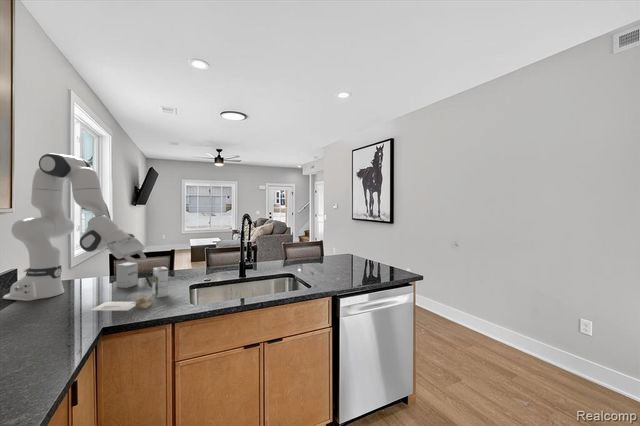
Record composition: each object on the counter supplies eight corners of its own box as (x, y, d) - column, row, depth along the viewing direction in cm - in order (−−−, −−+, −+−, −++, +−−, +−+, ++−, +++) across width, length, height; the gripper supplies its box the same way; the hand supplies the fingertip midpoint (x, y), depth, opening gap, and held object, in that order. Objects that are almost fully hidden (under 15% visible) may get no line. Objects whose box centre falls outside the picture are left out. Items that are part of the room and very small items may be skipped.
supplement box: (127, 288, 157) (127, 265, 156) (115, 287, 158) (115, 264, 158) (138, 284, 164) (138, 262, 164) (127, 283, 166) (127, 261, 165)
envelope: (89, 311, 124) (89, 310, 124) (106, 302, 135) (106, 301, 135) (127, 311, 125) (127, 310, 125) (141, 302, 136) (141, 301, 136)
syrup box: (151, 295, 146) (152, 267, 145) (164, 293, 150) (164, 266, 150) (155, 298, 142) (155, 269, 142) (168, 296, 146) (168, 268, 146)
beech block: (135, 309, 128) (135, 299, 128) (140, 305, 133) (140, 296, 132) (146, 309, 128) (146, 299, 128) (151, 305, 133) (151, 296, 133)
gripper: (110, 238, 133) (132, 259, 134) (135, 234, 154) (154, 252, 155) (100, 248, 133) (122, 268, 134) (126, 242, 154) (145, 260, 155)
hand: (139, 259), depth 145 cm, fingers open, 8 cm apart
